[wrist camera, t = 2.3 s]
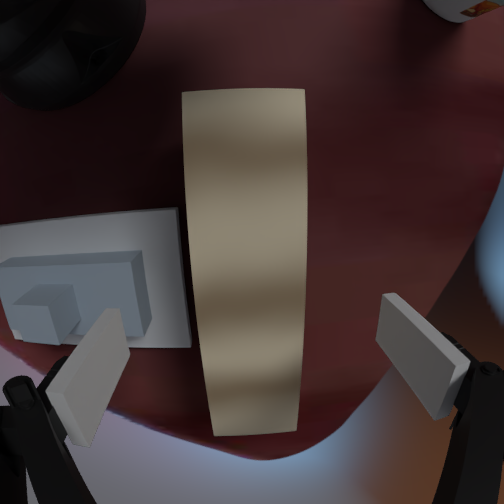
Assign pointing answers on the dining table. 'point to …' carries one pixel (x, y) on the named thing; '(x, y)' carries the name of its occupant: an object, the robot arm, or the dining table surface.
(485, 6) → the milk bottle
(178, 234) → the fulcrum stand
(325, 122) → the dining table surface
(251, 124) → the pine batten
